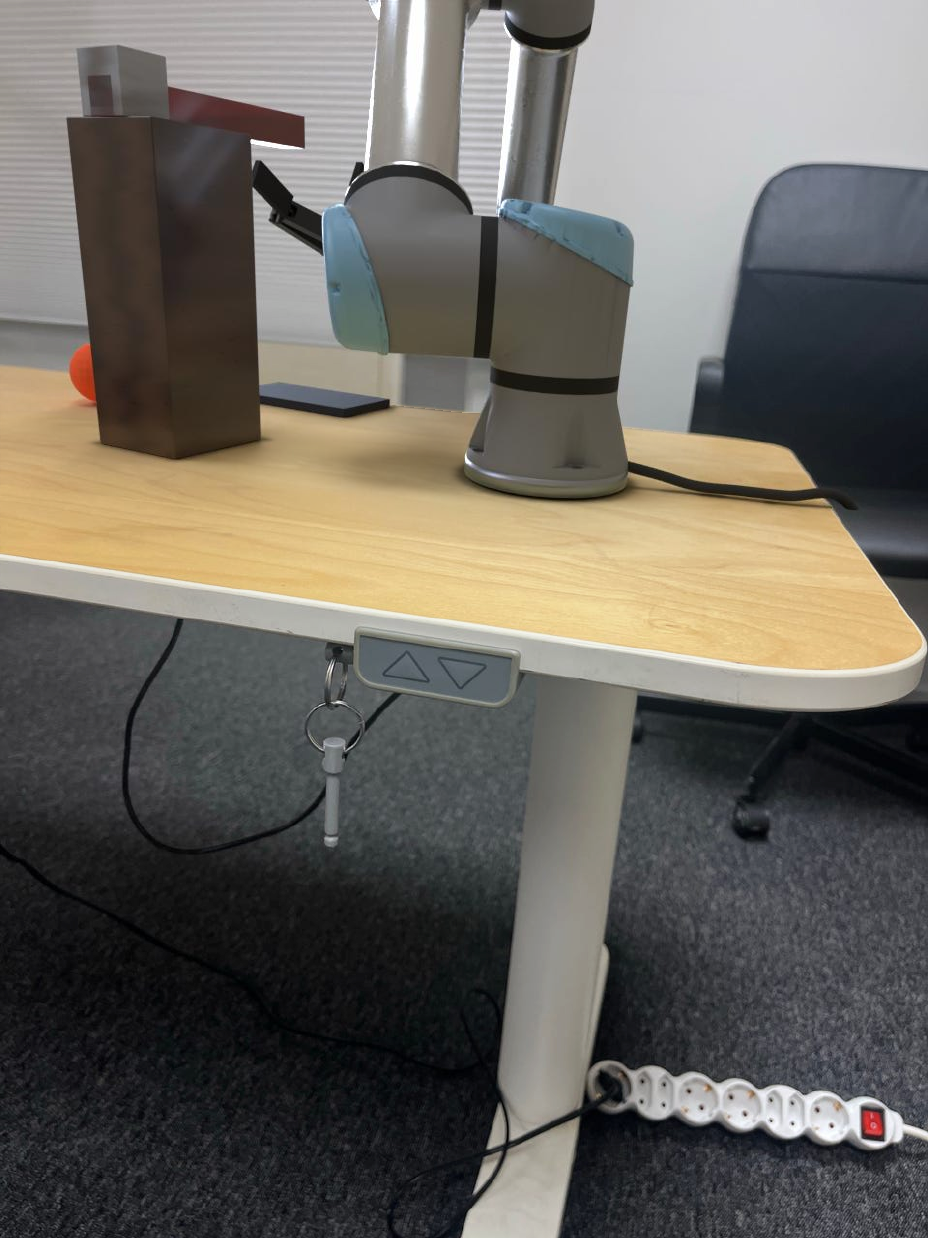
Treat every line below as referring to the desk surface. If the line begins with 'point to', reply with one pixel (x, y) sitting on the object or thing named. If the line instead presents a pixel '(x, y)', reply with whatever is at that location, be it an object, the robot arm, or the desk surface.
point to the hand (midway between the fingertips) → (303, 171)
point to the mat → (319, 399)
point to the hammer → (173, 98)
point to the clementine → (83, 372)
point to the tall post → (168, 281)
